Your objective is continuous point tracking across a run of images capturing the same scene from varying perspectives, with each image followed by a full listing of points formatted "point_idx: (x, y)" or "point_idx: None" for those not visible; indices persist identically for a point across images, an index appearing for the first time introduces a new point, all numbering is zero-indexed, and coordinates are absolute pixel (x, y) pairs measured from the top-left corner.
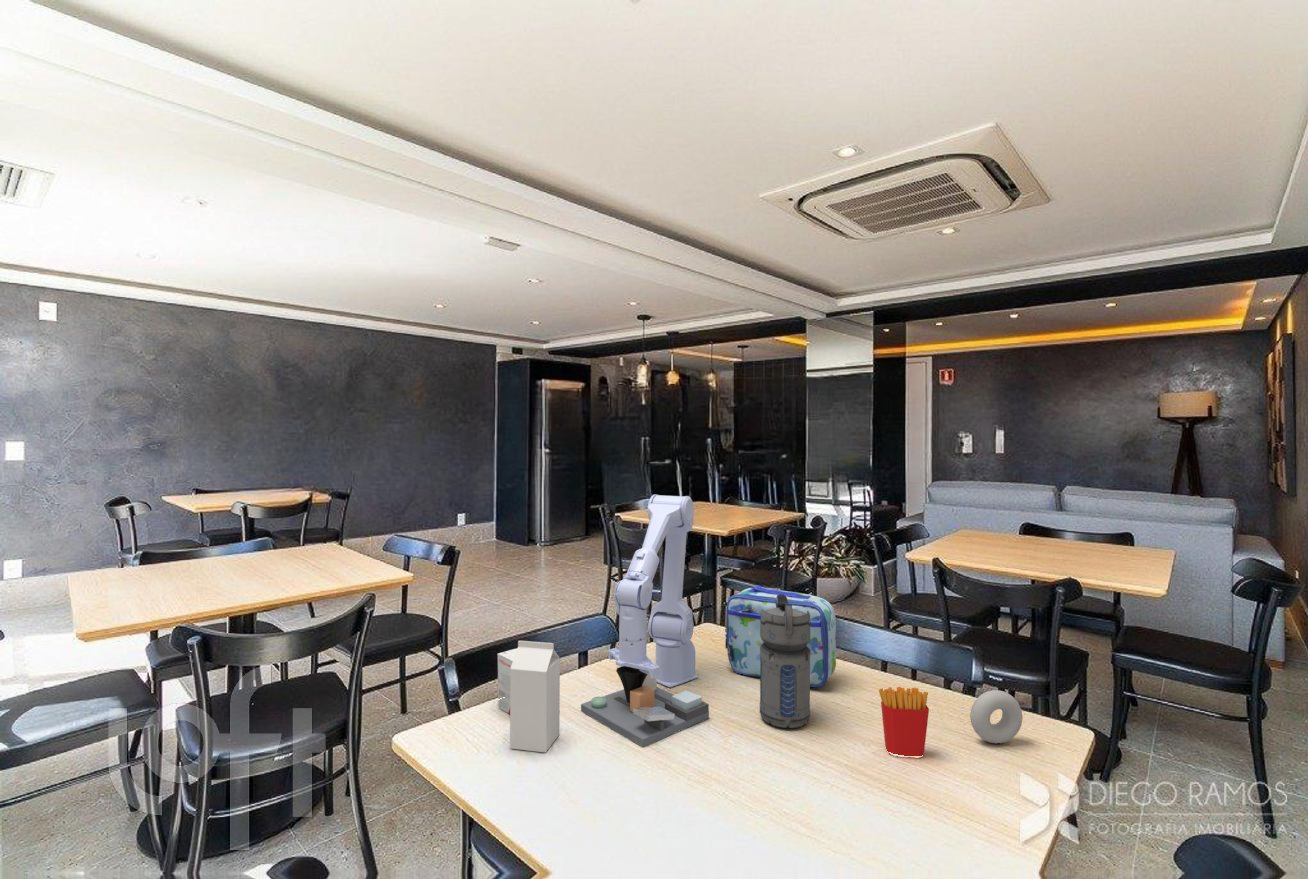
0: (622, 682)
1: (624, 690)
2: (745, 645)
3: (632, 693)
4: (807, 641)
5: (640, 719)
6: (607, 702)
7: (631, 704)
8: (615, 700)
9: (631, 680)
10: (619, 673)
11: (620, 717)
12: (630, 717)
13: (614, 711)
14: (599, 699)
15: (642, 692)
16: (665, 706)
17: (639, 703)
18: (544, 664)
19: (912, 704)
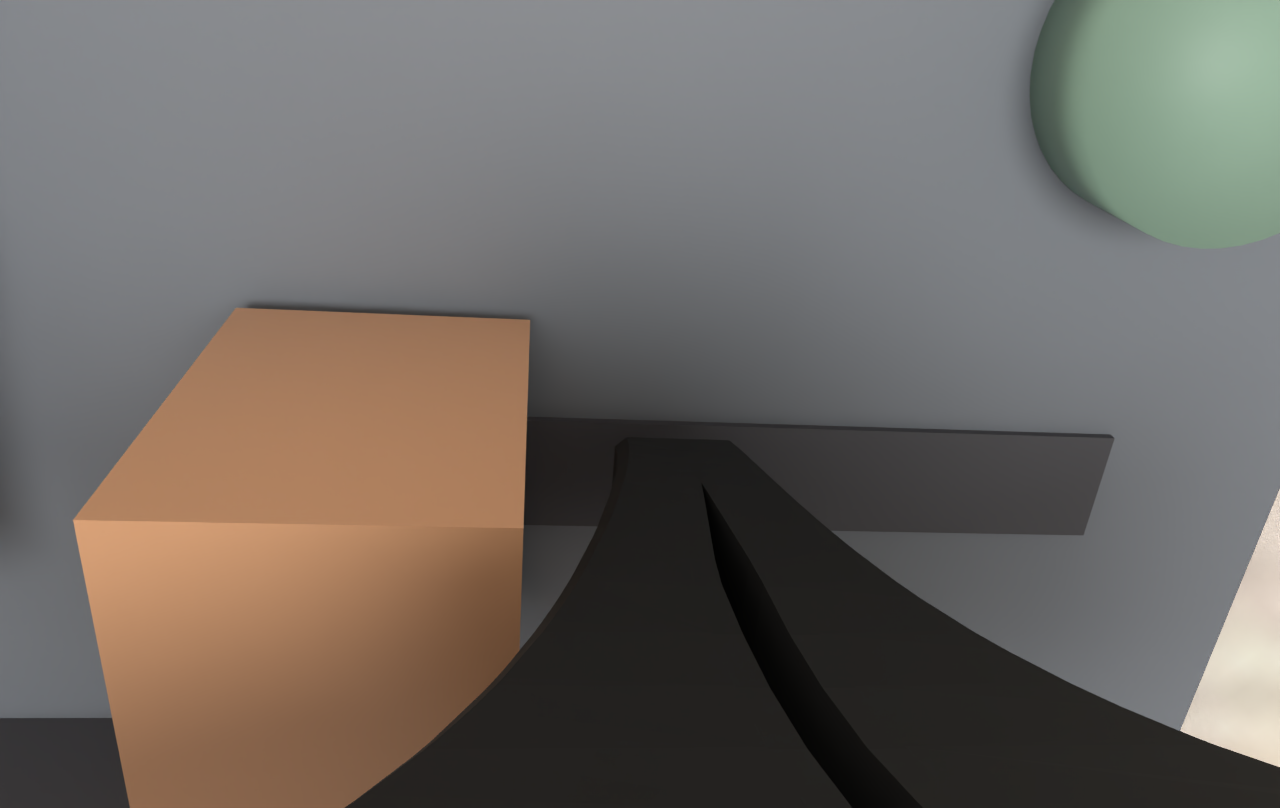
0: (937, 631)
1: (818, 527)
2: None
3: (414, 502)
4: None
5: (132, 236)
6: (1117, 264)
7: (482, 372)
8: (1048, 417)
9: (400, 772)
10: (1149, 790)
11: (470, 6)
12: (333, 156)
13: (756, 102)
14: (1255, 93)
15: (217, 684)
16: None
17: (160, 413)
18: None
19: None
